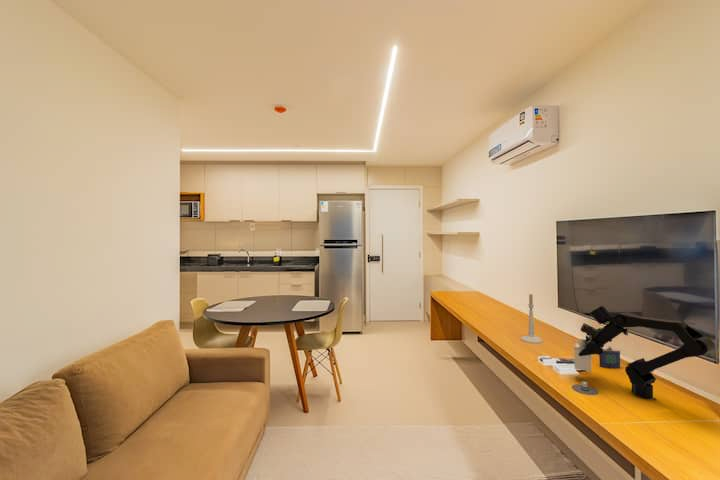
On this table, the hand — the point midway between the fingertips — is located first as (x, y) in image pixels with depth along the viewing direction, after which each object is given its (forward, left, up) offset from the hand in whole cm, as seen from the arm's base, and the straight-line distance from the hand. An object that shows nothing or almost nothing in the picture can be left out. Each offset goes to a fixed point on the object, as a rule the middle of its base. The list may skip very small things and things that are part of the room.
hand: (579, 352), depth 160 cm
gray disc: (-10, +6, -13) cm, 18 cm away
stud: (-10, +6, -12) cm, 17 cm away
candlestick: (+58, -16, -13) cm, 62 cm away
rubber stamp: (-1, -1, -7) cm, 7 cm away
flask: (+11, -27, -13) cm, 32 cm away
